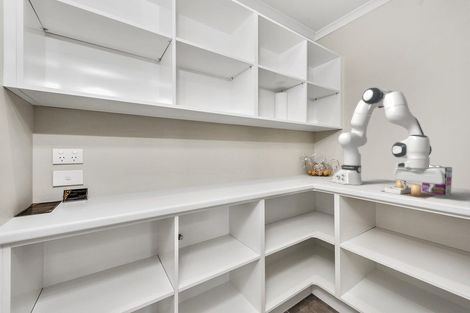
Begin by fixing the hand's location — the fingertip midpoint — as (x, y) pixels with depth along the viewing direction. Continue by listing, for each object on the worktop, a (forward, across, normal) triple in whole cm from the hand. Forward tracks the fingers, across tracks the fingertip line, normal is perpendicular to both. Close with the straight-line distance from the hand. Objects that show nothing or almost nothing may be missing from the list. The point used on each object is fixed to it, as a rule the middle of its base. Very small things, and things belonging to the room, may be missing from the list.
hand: (417, 190), depth 103 cm
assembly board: (+4, +5, -3) cm, 7 cm away
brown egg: (+3, 0, 0) cm, 3 cm away
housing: (+3, +9, -3) cm, 10 cm away
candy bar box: (+4, -2, -21) cm, 21 cm away
